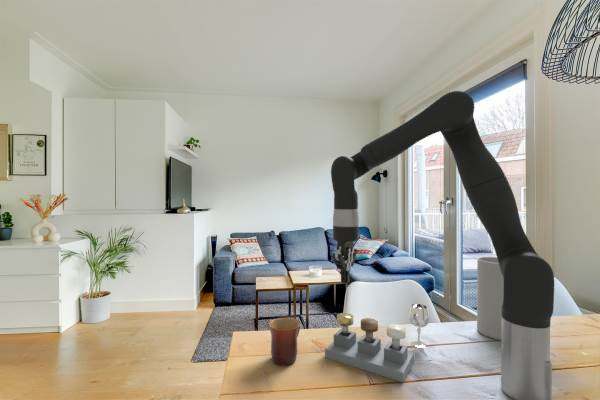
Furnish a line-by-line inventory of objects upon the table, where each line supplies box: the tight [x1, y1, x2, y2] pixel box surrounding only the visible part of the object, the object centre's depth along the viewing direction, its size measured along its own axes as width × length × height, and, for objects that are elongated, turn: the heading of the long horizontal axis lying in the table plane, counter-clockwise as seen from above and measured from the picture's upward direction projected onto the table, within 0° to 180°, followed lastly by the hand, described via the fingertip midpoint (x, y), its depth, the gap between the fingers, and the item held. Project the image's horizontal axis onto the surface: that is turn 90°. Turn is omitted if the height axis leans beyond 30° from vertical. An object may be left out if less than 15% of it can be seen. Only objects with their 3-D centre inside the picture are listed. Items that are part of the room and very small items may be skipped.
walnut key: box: [360, 317, 379, 344], centre depth 87 cm, size 5×5×6 cm
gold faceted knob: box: [336, 312, 354, 337], centre depth 91 cm, size 5×5×6 cm
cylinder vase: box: [476, 256, 504, 341], centre depth 104 cm, size 12×12×25 cm
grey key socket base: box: [324, 328, 415, 383], centre depth 87 cm, size 22×12×5 cm, turn 57°
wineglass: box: [408, 303, 430, 349], centre depth 96 cm, size 6×6×12 cm
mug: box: [268, 317, 301, 366], centre depth 88 cm, size 12×9×10 cm
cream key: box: [386, 323, 406, 351], centre depth 83 cm, size 5×5×6 cm
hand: (345, 282), depth 91 cm, fingers closed
